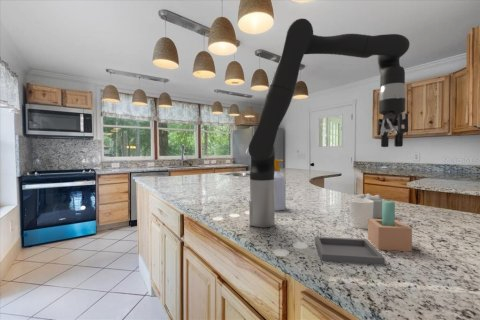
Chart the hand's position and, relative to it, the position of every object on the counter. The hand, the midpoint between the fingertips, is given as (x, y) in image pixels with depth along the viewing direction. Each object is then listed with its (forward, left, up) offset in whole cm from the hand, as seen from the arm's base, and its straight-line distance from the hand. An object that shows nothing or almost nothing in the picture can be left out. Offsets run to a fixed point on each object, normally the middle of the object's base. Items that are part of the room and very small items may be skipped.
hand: (391, 146), depth 80 cm
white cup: (-9, 0, -29) cm, 31 cm away
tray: (-20, -24, -29) cm, 42 cm away
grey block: (0, +20, -29) cm, 36 cm away
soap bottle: (-39, +25, -29) cm, 55 cm away
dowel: (-7, -17, -28) cm, 33 cm away
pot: (-7, -17, -29) cm, 34 cm away
